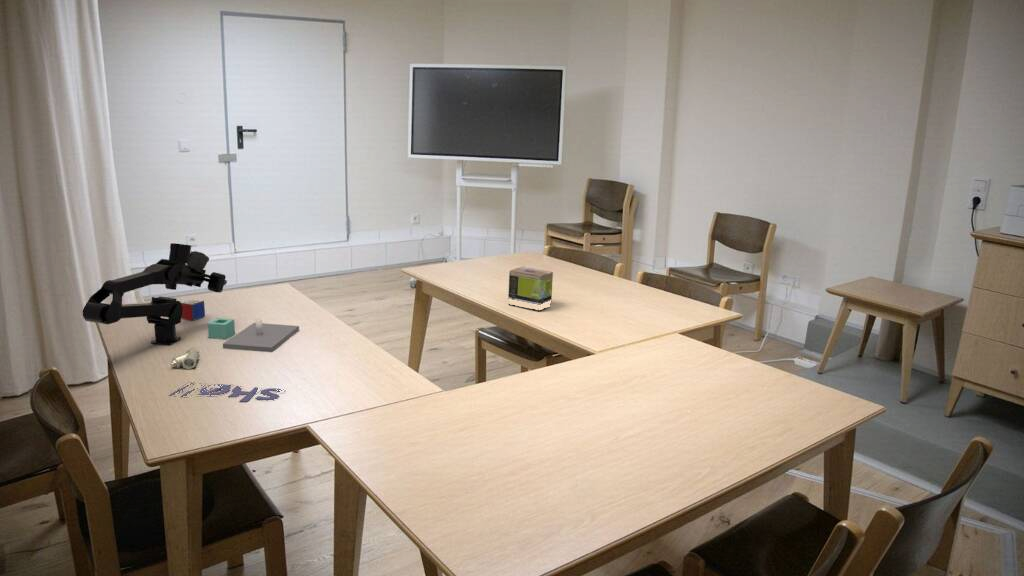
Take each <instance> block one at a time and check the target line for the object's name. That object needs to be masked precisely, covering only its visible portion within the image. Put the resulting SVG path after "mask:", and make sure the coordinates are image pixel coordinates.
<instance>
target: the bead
mask: <svg viewBox="0 0 1024 576" xmlns="http://www.w3.org/2000/svg"><path fill="white" fill-rule="evenodd" d="M235 329H236V328H235V319H233V318H224V317H223V318H220V317H216V318H215V319H213V320H211V321H209V322H208V323H207V333H208V334H207V335H208V336H207V337H208V339H216V338H219V339H218V340H228V339H230V338H231V337H233V336H234V335H236V332H235V331H236V330H235Z"/></svg>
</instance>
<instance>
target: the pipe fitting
mask: <svg viewBox="0 0 1024 576" xmlns="http://www.w3.org/2000/svg"><path fill="white" fill-rule="evenodd" d="M198 359H200V352H199V350H198V349H196V348H190V349H189V350H187V351H186V352H185V353H183V354H180V355H177V356H175V357H172V359H171V362H170V366H171V367H173V368H175V367H176V368H175V369H181V368H184V369H187V370H192V369H193V368H195V367H196V366H197V361H198Z"/></svg>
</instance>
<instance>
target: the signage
mask: <svg viewBox="0 0 1024 576" xmlns="http://www.w3.org/2000/svg"><path fill="white" fill-rule="evenodd" d="M190 383H191V384H193V383H195V384H196V382H195V381H194V382H193V383H192V382H190ZM186 384H187V383H185V384H184V385H186ZM191 384H190V385H191ZM216 384H217V385H218V386H220V384H221V383H216ZM216 384H213V385H214V386H215V385H216ZM184 385H182V386H181V387H183V386H184ZM193 385H194V384H193ZM211 385H212V384H209V385H207V386H208V387H209V386H211ZM222 385H223V386H222ZM231 385H232V384H224V383H222V384H221V386H222V387H221V386H220V388H212V389H210V390H207V389H206V388H207V387H206V386H204V387H205V388H204V387H202V388H201V389H199V393H198V394H197V395H210V396H209V397H212V396H211V395H220V394H224V393H226V394H228V393H230V392H231V391H232V392H233V393H232V392H231V394H229V395H228V396H227V397H228V398H230V397H237V396H238V397H240V396H239V395H246V396H243V397H242V398H241V399H239V403H248V402H250V401H251V400H252V399H253V398H254V397H255V398H254V399H257V400H256V401H260V400H273V401H275V400H274V399H277V398H278V397H279V398H280V395H279V393H278V394H277V392H280V391H279V390H281V389H282V388H271V387H270V388H268V387H267V388H265V389H262V390H260V392H259V394H260V395H261V394H263V395H261V396H259V395H258V396H257V394H256V392H257V390H258V388H259V387H256V386H255V387H253V388H252V390H250V391H246V390H241V388H240V387H242V386H240V385H236V386H235V387H233V389H232V386H231ZM188 386H189V385H187V386H185V387H183V388H181V387H178V389H176V390H177V391H176V390H175V391H173V392H171V393H170V394H169V395H168V396H172V395H175V393H177V392H179V393H180V391H181V390H182V391H183V389H185V388H186V387H188ZM201 386H202V385H201ZM230 386H231V387H230ZM239 386H240V387H239ZM180 388H181V389H180ZM197 389H198V388H197ZM204 389H205V390H206V391H205V390H204ZM221 389H223V390H221ZM230 389H232V390H230ZM276 389H277V390H278V391H277V390H276ZM194 390H195V389H193V390H191V391H189V390H188V391H185V393H183V394H182V395H179V396H180V397H183V396H187V394H188V393H189V394H190V393H191V392H192V391H194ZM217 390H220V391H217ZM202 391H203V392H202ZM207 391H208V392H207ZM213 391H216V392H213ZM229 391H230V392H229ZM269 391H277V392H269ZM281 391H282V390H281ZM212 392H213V393H212ZM227 392H228V393H227ZM179 393H178V394H179ZM200 393H201V394H200ZM209 393H210V394H209ZM255 394H256V395H255ZM224 395H225V394H224ZM254 395H255V396H254ZM265 395H267V396H265ZM220 396H221V395H220ZM253 396H254V397H253ZM268 396H270V397H268ZM180 397H179V398H180ZM238 397H237V398H238ZM252 397H253V398H252ZM251 398H252V399H251ZM279 398H278V399H279ZM250 399H251V400H250ZM278 399H277V400H278Z"/></svg>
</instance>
